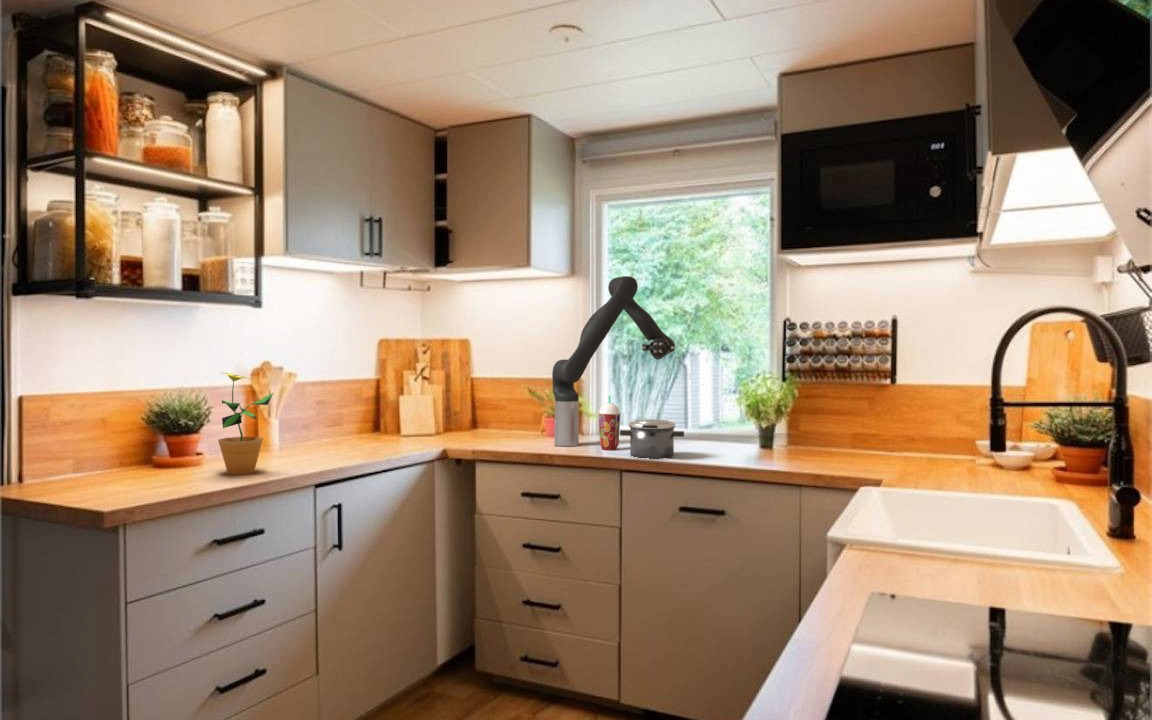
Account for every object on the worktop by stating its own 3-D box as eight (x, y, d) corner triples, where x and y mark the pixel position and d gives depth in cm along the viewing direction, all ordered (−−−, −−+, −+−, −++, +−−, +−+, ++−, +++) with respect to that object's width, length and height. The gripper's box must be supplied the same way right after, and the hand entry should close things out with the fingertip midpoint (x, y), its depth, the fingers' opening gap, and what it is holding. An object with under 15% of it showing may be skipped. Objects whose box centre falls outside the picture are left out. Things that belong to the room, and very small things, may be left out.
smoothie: (625, 449, 287) (625, 395, 286) (610, 451, 280) (610, 396, 280) (608, 447, 292) (608, 394, 292) (593, 449, 286) (593, 395, 286)
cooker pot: (623, 452, 278) (623, 424, 278) (684, 453, 275) (684, 425, 274) (617, 458, 262) (617, 429, 262) (683, 460, 258) (683, 430, 258)
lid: (631, 424, 277) (631, 418, 277) (676, 425, 274) (676, 419, 274) (625, 429, 258) (625, 423, 258) (673, 430, 255) (673, 423, 255)
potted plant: (248, 478, 218) (247, 372, 218) (193, 475, 223) (193, 372, 223) (287, 469, 235) (287, 371, 235) (236, 466, 241) (235, 370, 240)
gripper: (643, 338, 306) (639, 337, 289) (676, 338, 304) (674, 337, 287) (643, 357, 306) (638, 357, 289) (676, 357, 304) (674, 357, 287)
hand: (656, 347), depth 288 cm, fingers closed
